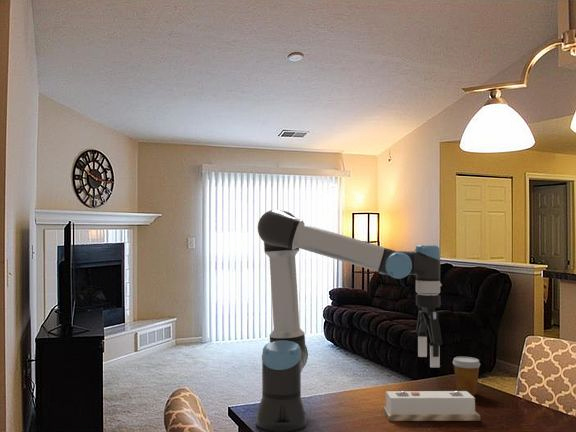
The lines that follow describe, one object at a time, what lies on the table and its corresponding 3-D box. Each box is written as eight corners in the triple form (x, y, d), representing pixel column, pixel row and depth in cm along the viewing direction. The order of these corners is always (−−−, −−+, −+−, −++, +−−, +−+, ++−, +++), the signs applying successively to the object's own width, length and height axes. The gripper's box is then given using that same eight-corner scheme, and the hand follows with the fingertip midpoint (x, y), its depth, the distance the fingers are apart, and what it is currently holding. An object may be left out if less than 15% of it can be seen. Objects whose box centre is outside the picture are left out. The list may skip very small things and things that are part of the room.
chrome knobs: (401, 414, 159) (400, 392, 160) (399, 412, 161) (399, 390, 161) (461, 414, 159) (460, 392, 160) (459, 412, 161) (458, 390, 162)
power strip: (390, 414, 157) (390, 396, 157) (386, 407, 164) (385, 389, 164) (475, 414, 157) (474, 395, 157) (466, 406, 164) (466, 389, 164)
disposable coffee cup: (485, 392, 184) (484, 359, 184) (474, 399, 177) (474, 364, 177) (459, 387, 190) (458, 355, 191) (448, 393, 183) (448, 359, 183)
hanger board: (388, 420, 156) (388, 415, 156) (383, 410, 165) (383, 406, 165) (480, 420, 156) (480, 415, 156) (469, 410, 165) (469, 405, 165)
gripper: (453, 298, 149) (453, 372, 148) (428, 289, 174) (428, 352, 173) (427, 298, 149) (427, 372, 148) (406, 289, 174) (406, 352, 173)
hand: (428, 361), depth 161 cm, fingers open, 13 cm apart
